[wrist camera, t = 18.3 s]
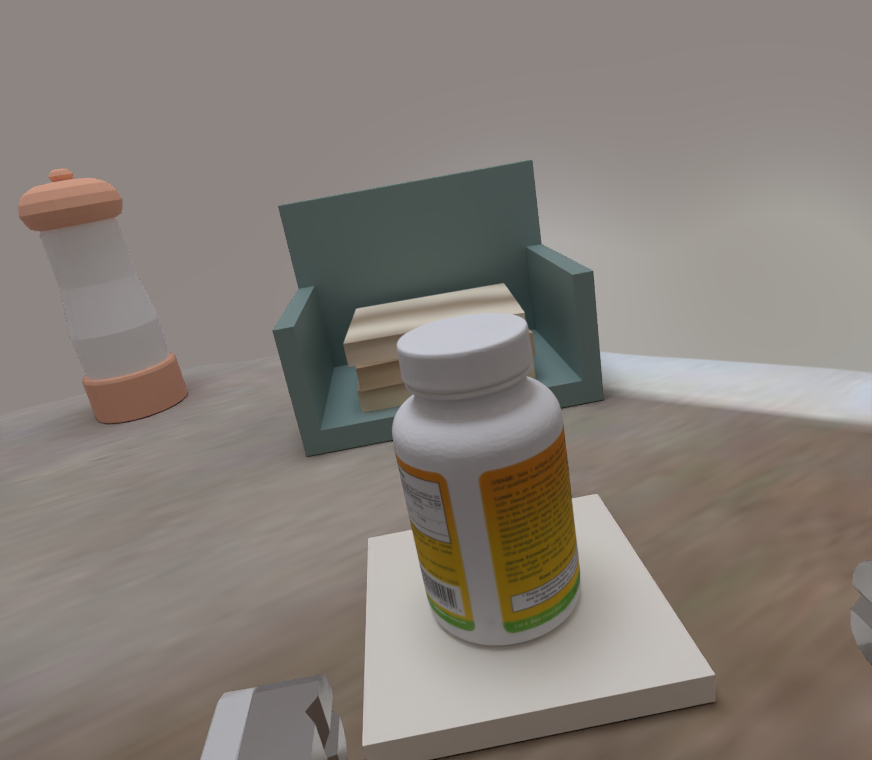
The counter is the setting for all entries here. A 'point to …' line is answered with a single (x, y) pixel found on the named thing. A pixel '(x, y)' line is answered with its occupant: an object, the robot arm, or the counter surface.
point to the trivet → (522, 656)
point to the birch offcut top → (417, 319)
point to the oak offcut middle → (390, 372)
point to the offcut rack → (424, 287)
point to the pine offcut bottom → (392, 396)
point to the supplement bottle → (486, 480)
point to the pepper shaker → (103, 299)
